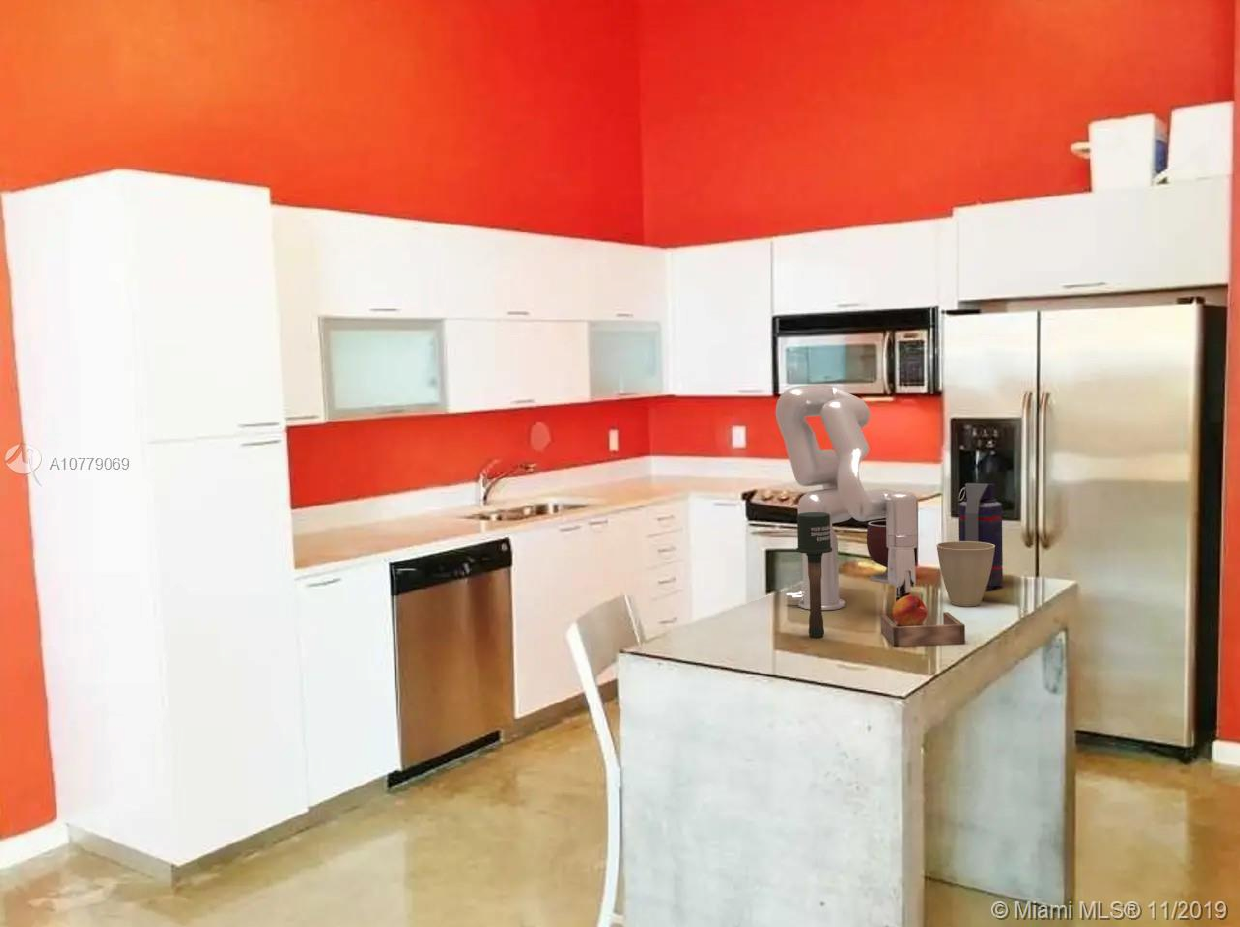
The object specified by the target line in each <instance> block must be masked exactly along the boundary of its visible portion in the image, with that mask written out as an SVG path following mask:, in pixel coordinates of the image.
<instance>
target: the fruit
mask: <svg viewBox="0 0 1240 927" xmlns="http://www.w3.org/2000/svg"><path fill="white" fill-rule="evenodd" d="M891 613H892V618H894V620H895V621H896V622H897V623H898V625H900V626H920V625H922V623H923V622H925V620H926V619H927V616H928V610H927V607H926V605H925V603H924V601H923V600H922V599H921V598H920V597H919V596H917V595H915V594H910V595H906V596H903V597H902V598H900V599H899V600H898V601H897V602H896V601H895V602H894V604H893V606H892V612H891Z"/></svg>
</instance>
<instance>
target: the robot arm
mask: <svg viewBox="0 0 1240 927" xmlns="http://www.w3.org/2000/svg"><path fill="white" fill-rule="evenodd" d="M808 417H811V418H813V417H819V418H820V420H821V422H822V426H823V428H824V429H825V432H826V433H827V434H826V435H827V436H828V438H829V441H830V444H831V445H832V447H833V449H821V448H820V445H819V443H818V439H817V436H816V433H815V431H814V429H813V427H811V425H810V424H809V422H808V421H807V420H806V418H808ZM870 418H871V411H870V408H869V406H868V404H867V403H866V402H865V401H864V400H863V399H861V398H860V397H858V396H856V395H853V394H851V393H849V392H847V391H845V390H842V389H840V388H838V387H836V386H833V385H831V384H814V385H811V384H809V385H799V386H793V387H790V388H788V389H786V390H785V391H783V392H782V394H781V395H779V397H778V400H777V403H776V405H775V419H776V422H777V425H778V428H779V430H780V433H781V435H782V438H783V440H784V443H785V448H786V452H787V456H788V459H789V463H790V467H791V471H792V473H793V477H794V479H795V482H796V483H797V484H798V485H800V486H801V487H802V486H803V487H815V486H821V485H822V488H823V489H822V488H821V489H815V490H810V491H809V492H806V493H805V494H804V495H802V496H801V497H800V499H799V500H798V502H797V515H798V514H800V513H805V512H824V513H828V514H830V539H831V547H832V551H831V552H829V553H822V554H823V555H822V556H821V560H822V562H821V573H822V575H821V611H831V610H832V611H833V610H839V609H843V608H844V607H845V606H846V601H845V600H844V599H842V598H840V582H839V580H840V576H839V569H840V568H839V542H838V541H839V540H838V536H837V534H836V532H835V529H834V526H833V524H836V523H841V522H845V521H848V520H850V519H851V518H853V519H854V520H856V521H858V522H867V521H869V522H870V521H875V520H879V519H880V520H882V519H885V520H886V536H887V547H888V548H889V552H888V581H889V582H890V583H889V584H891V585H892V586H893V587H895V603H896V602H897V601H898V600H899V599H900V598H902V597H903V596H906V595H911V593H912V589H911V588H914V587H916V583H917V582H916V576H917V575H916V573H917V572H916V559H915V557H916V556H915V555H916V554H915V549H917V548H918V513H917V512H918V511H917V510H918V508H917V507H918V506H917V501H918V500H917V496H916V494H915V493H913V492H910V491H895V490H892V489H888V488H877V489H870V490H865V488H864V486H863V484H862V482H861V480H860V475H859V474H860V473H859V467H860V464H861V463H862V460H864V459H865V457H867V455H868V454H869V453H870V446H869V443H868V441H867V438H866V437H865V435H864V433H863V430H862V428H865V427H866V426H867V425H868V424H869V422H870ZM802 582H803V587H800V590H797V591H795V592H794V591H787V592H786V593H785V596H786V597H785V598H786V600H793V601H797V600H798V602H797V605H798V607H799V608H801V609H805V610H810V582H809V576H808V558H807V555H806V554H805V553H802Z"/></svg>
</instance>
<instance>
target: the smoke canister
mask: <svg viewBox="0 0 1240 927" xmlns="http://www.w3.org/2000/svg"><path fill="white" fill-rule="evenodd" d="M963 490H964V492H963V495H962V497H961V499H960V496H961V493H962V491H963ZM964 497H965V498H964ZM957 500H958V502H959V503H958V505H957V506H958V507H957V508H958V509H957V510H958V511H957V514H958V516H959V517H958V541H975V542H985V543H990V544H993V545H995V549H994V556H993V562H992V567H991V572H990V576H989V580H988V583H987V587H986V590H985V591H993V590H994V587H995V588H996V587H1000V586H1002V585H1003V583H1004V579H1003V577H1004V576H1003V575H1004V574H1003V573H1004V571H1003V569H1004V568H1003V566H1004V565H1003V561H1004V559H1003V555H1004V554H1003V518H1002V516H1003V504H1002V503H1001V502H998V501H997V499H996V498H995V484H994V483H987V482H966V483H964V486H963V487H962V488H961V489H960V492H959V494H958V499H957Z"/></svg>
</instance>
